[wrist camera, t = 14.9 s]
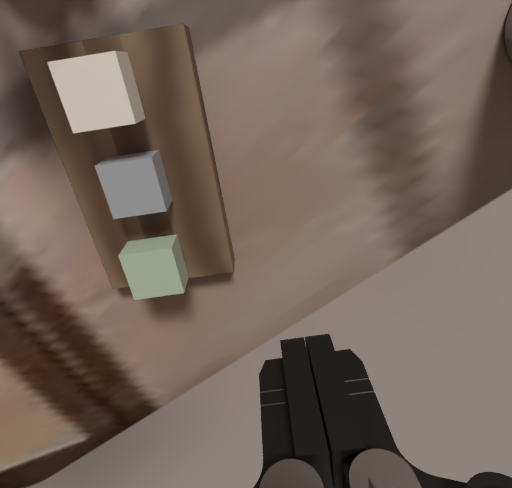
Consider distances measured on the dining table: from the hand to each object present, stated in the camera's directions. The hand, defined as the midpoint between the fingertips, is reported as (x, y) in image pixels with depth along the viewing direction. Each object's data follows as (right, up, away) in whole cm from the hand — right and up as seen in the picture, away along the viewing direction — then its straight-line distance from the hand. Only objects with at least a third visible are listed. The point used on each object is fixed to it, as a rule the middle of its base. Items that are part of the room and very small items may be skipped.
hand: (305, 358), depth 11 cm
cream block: (-14, +17, +21) cm, 30 cm away
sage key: (-12, +3, +28) cm, 30 cm away
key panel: (-13, +11, +26) cm, 31 cm away
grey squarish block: (-13, +11, +26) cm, 31 cm away
